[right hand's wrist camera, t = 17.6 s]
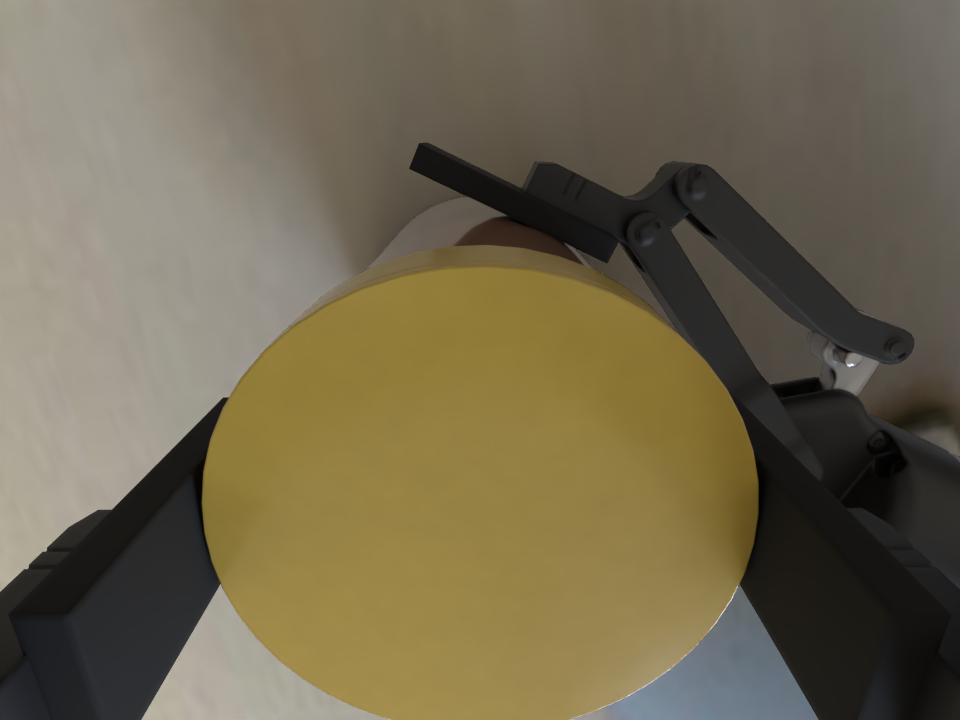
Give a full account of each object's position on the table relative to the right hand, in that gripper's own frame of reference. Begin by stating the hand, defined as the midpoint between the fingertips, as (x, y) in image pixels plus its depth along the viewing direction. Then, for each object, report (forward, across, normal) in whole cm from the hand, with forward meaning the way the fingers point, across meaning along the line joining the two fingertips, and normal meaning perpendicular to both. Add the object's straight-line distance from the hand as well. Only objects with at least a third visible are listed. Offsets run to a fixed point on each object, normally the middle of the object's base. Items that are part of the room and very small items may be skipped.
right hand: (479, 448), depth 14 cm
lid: (-3, 0, 0) cm, 3 cm away
